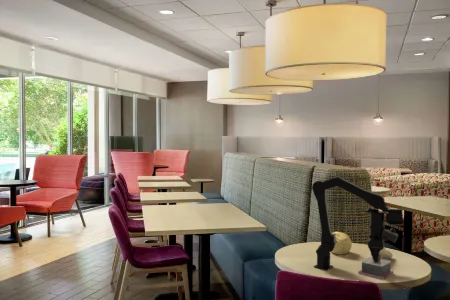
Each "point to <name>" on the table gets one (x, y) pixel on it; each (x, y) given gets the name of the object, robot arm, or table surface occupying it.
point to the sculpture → (342, 243)
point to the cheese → (385, 254)
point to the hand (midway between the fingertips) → (376, 258)
